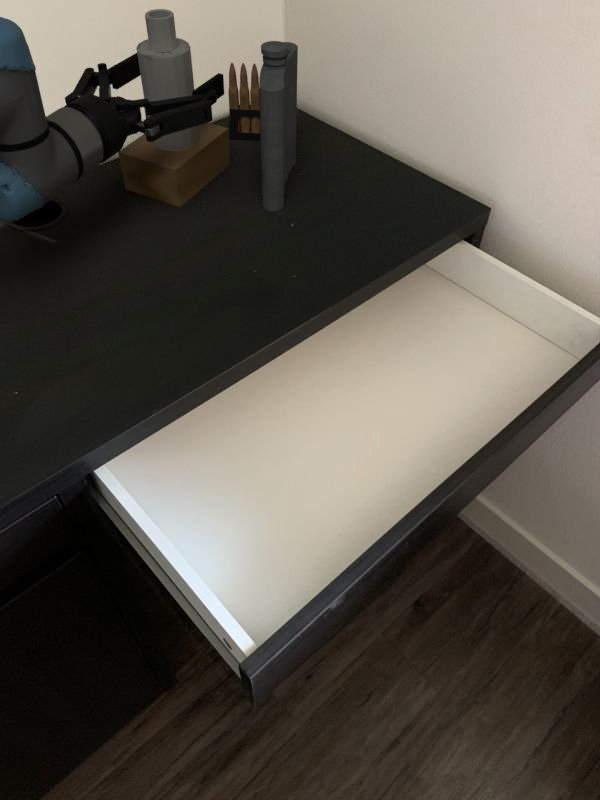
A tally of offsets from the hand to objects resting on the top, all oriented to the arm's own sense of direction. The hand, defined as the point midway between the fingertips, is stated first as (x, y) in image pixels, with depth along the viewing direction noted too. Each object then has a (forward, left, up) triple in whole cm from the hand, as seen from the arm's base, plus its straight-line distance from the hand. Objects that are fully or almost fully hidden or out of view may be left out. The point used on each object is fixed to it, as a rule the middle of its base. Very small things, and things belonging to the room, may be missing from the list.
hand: (180, 72), depth 94 cm
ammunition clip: (+5, +14, -15) cm, 21 cm away
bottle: (0, -3, -9) cm, 9 cm away
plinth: (0, -3, -15) cm, 15 cm away
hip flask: (+14, +3, -15) cm, 20 cm away
